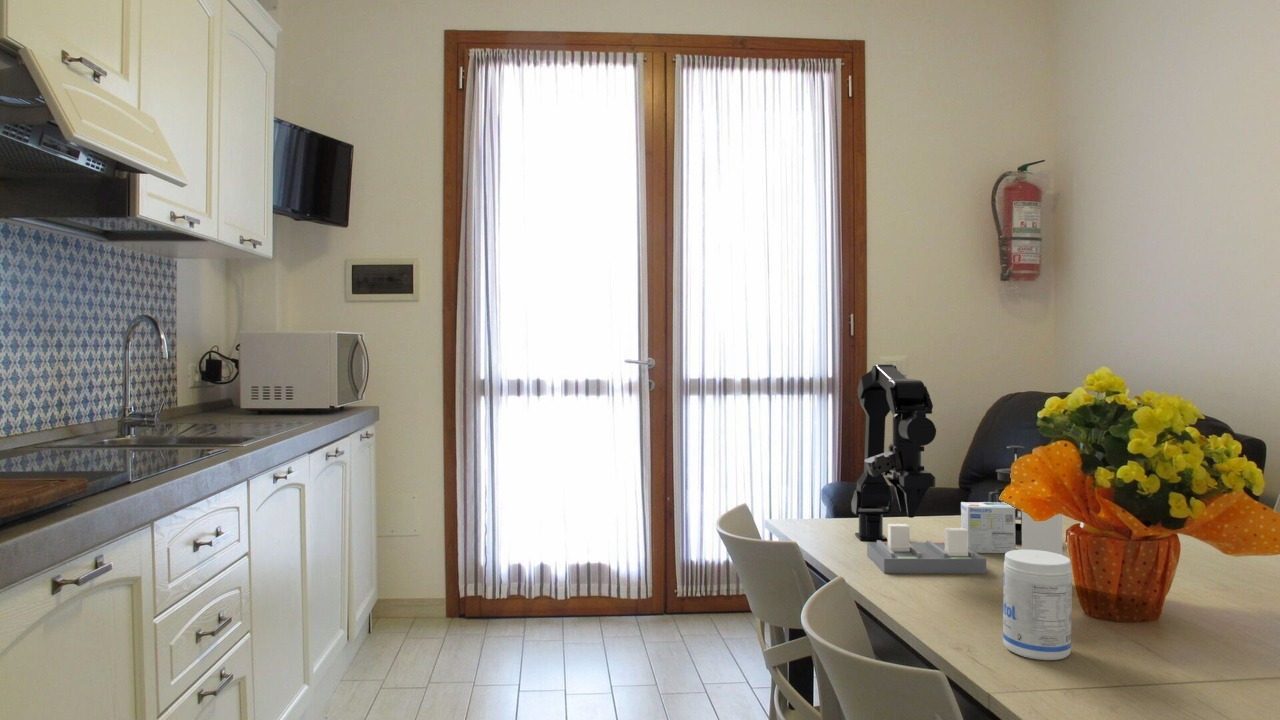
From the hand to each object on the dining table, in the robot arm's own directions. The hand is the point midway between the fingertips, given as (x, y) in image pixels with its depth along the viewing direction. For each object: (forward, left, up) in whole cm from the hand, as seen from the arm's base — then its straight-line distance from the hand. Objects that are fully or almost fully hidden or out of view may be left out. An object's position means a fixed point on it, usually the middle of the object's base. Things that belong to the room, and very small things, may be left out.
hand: (907, 514), depth 174 cm
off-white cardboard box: (+8, +24, -12) cm, 28 cm away
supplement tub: (+45, +7, -12) cm, 48 cm away
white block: (-7, 0, -9) cm, 11 cm away
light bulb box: (-20, +24, -12) cm, 33 cm away
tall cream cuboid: (-3, +11, -9) cm, 14 cm away
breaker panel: (-7, +5, -12) cm, 15 cm away
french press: (-30, +34, -12) cm, 47 cm away
